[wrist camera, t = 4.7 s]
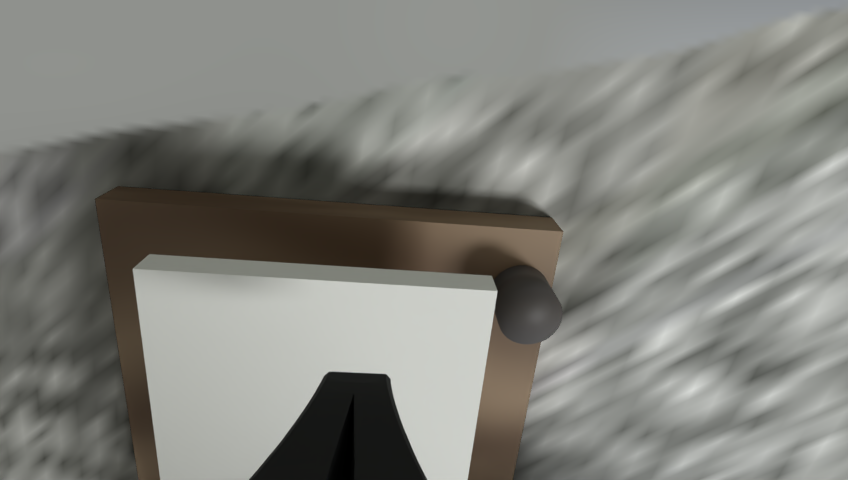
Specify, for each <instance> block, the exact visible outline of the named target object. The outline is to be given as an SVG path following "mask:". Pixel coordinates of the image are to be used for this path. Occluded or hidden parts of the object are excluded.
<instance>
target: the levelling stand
mask: <svg viewBox="0 0 848 480" xmlns="http://www.w3.org/2000/svg"><path fill="white" fill-rule="evenodd" d="M95 203H96V209H97V215H98V222H99V228H100V235H101V241H102V248H103V254H104V260H105V267H106V273H107V280H108V286H109V293H110V299H111V306H112V312H113V318H114V325H115V331H116V338H117V344H118V351H119V357H120V364H121V370H122V376H123V383H124V389H125V396H126V402H127V409H128V415H129V422H130V428H131V434H132V441H133V447H134V454H135V460H136V467H137V473H138V479H139V480H160V474H159V466H158V459H157V451H156V444H155V436H154V428H153V421H152V413H151V405H150V398H149V390H148V383H147V375H146V367H145V360H144V352H143V344H142V337H141V329H140V322H139V314H138V306H137V299H136V291H135V283H134V276H133V268H134V267H135V266H136V265H138V264H139V263H140V262H141V261H142V260H143V259H144V258H146V257H147V256H148V255H149V254H155V255H171V256H187V257H203V258H219V259H234V260H250V261H266V262H282V263H298V264H314V265H330V266H345V267H361V268H377V269H393V270H409V271H425V272H440V273H456V274H472V275H488V276H492V278H493V280H494V283H495V286H496V288H497V291H498V292H497V298H496V304H495V311H494V317H493V323H492V329H491V336H490V342H489V348H488V355H487V361H486V367H485V373H484V380H483V386H482V392H481V399H480V405H479V411H478V417H477V424H476V430H475V436H474V443H473V449H472V455H471V461H470V468H469V474H468V480H513V476H514V471H515V466H516V461H517V456H518V451H519V446H520V441H521V436H522V432H523V427H524V422H525V417H526V412H527V407H528V402H529V397H530V392H531V387H532V383H533V378H534V373H535V368H536V363H537V358H538V353H539V348H540V343H541V342H542V341H544V340H546V339H547V338H549V337H550V336H551V335H553V334H554V333H555V331H556V330H557V329H558V327H559V325H560V323H561V320H562V307H561V304H560V302H559V300H558V298H557V297H556V295H555V293H554V292H553V290H552V285H553V280H554V275H555V270H556V265H557V260H558V255H559V250H560V245H561V240H562V235H563V231H562V230H561V228H560V227H559V226H558V225H557V223H556V222H555V221H554V220H553V218H551V217H537V216H523V215H509V214H495V213H481V212H467V211H453V210H439V209H426V208H412V207H398V206H384V205H370V204H356V203H342V202H328V201H314V200H301V199H287V198H273V197H259V196H245V195H231V194H217V193H203V192H189V191H176V190H162V189H148V188H134V187H120V186H118V187H116V188H114V189H112V190H110V191H108V192H107V193H105V194H103V195H101V196H99V197H98V198H96V199H95Z"/></svg>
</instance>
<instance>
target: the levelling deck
mask: <svg viewBox="0 0 848 480" xmlns="http://www.w3.org/2000/svg"><path fill="white" fill-rule="evenodd" d="M133 276H134V283H135V291H136V299H137V306H138V314H139V322H140V329H141V337H142V344H143V352H144V360H145V367H146V375H147V383H148V390H149V398H150V405H151V413H152V421H153V428H154V436H155V444H156V451H157V459H158V466H159V474H160V480H249V479H250V478H251V477H252V475H253V474H254V473H255V472H256V471H257V470H258V469H259V467H260V466H261V465H262V464H263V463H264V461H265V460H266V459H267V458H268V456H269V455H270V454H271V453H272V452H273V450H274V449H275V448H276V447H277V446H278V444H279V443H280V442H281V441H282V439H283V438H284V437H285V435H286V434H287V433H288V431H289V430H290V428H291V427H292V426H293V424H294V423H295V422H296V420H297V419H298V417H299V416H300V415H301V413H302V412H303V410H304V409H305V407H306V406H307V404H308V403H309V401H310V400H311V398H312V396H313V395H314V393H315V391H316V390H317V388H318V386H319V384H320V383H321V381H322V379H323V377H324V375H326V374H327V373H328V372H329V371H330V372H353V373H376V374H386V375H387V376H388V377H389V378H390V379H391V387H392V392H393V397H394V400H395V404H396V407H397V410H398V413H399V417H400V419H401V422H402V425H403V427H404V430H405V432H406V435H407V437H408V440H409V442H410V444H411V447H412V449H413V451H414V454H415V456H416V458H417V460H418V462H419V464H420V466H421V468H422V470H423V472H424V474H425V476H426V478H427V480H468V474H469V468H470V461H471V455H472V449H473V443H474V436H475V430H476V424H477V417H478V411H479V405H480V399H481V392H482V386H483V380H484V373H485V367H486V361H487V355H488V348H489V342H490V336H491V329H492V323H493V317H494V311H495V304H496V298H497V292H498V291H497V288H496V286H495V283H494V280H493V278H492V276H488V275H472V274H456V273H440V272H425V271H409V270H393V269H377V268H361V267H345V266H330V265H314V264H298V263H282V262H266V261H250V260H234V259H219V258H203V257H187V256H171V255H155V254H149V255H148V256H147V257H146V258H144V259H143V260H142V261H141V262H140V263H139V264H138V265H136V266H135V267H134V268H133Z"/></svg>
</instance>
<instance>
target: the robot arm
mask: <svg viewBox="0 0 848 480" xmlns="http://www.w3.org/2000/svg"><path fill="white" fill-rule="evenodd" d="M249 480H427V478H426V476H425V474H424V472H423V470H422V468H421V466H420V464H419V462H418V460H417V458H416V456H415V454H414V451H413V449H412V447H411V444H410V442H409V440H408V437H407V435H406V432H405V430H404V427H403V425H402V422H401V419H400V417H399V413H398V410H397V407H396V404H395V400H394V397H393V392H392V387H391V379H390V378H389V377H388V376H387V375H386V374H376V373H353V372H330V371H329V372H328V373H327V374H326V375H324V377H323V379H322V381H321V383H320V384H319V386H318V388H317V390H316V391H315V393H314V395H313V396H312V398H311V400H310V401H309V403H308V404H307V406H306V407H305V409H304V410H303V412H302V413H301V415H300V416H299V417H298V419H297V420H296V422H295V423H294V424H293V426H292V427H291V428H290V430H289V431H288V433H287V434H286V435H285V437H284V438H283V439H282V441H281V442H280V443H279V444H278V446H277V447H276V448H275V449H274V450H273V452H272V453H271V454H270V455H269V456H268V458H267V459H266V460H265V461H264V463H263V464H262V465H261V466H260V467H259V469H258V470H257V471H256V472H255V473H254V474H253V475H252V477H251V478H250V479H249Z"/></svg>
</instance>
